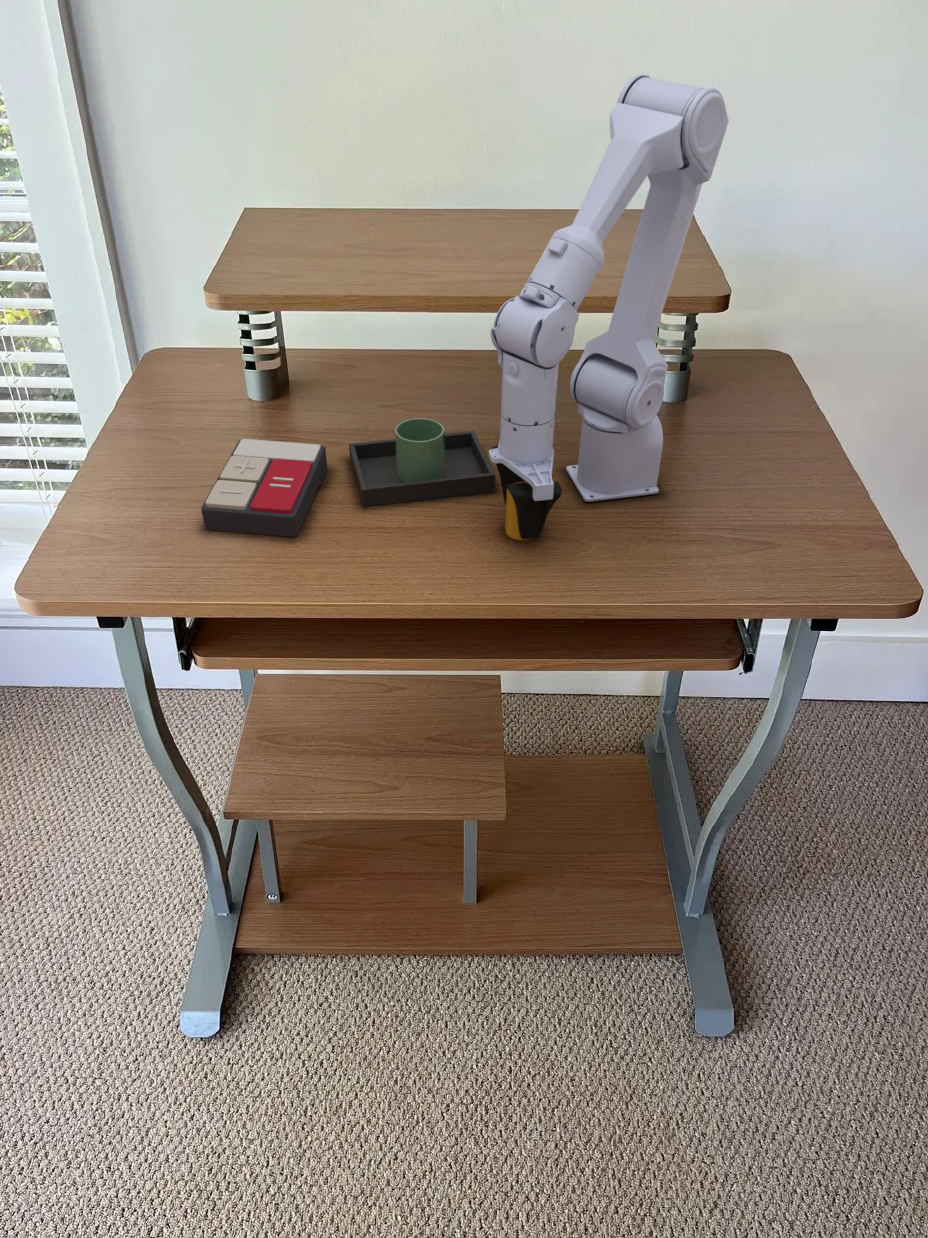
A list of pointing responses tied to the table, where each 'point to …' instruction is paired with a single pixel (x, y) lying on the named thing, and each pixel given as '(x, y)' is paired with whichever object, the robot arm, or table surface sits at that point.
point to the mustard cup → (512, 518)
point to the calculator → (265, 488)
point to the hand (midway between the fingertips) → (522, 521)
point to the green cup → (420, 450)
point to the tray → (461, 477)
